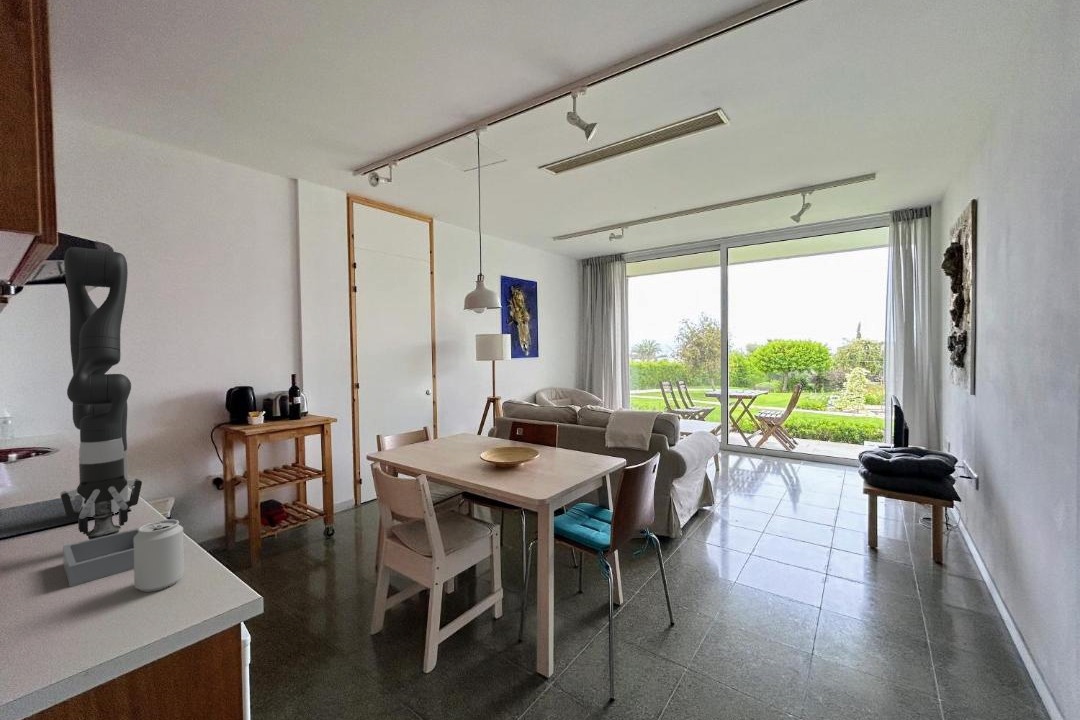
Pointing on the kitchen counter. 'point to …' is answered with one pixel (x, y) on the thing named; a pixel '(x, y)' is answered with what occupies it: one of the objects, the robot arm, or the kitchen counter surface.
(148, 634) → the kitchen counter surface
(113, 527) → the chess piece
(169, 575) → the can
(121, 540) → the bin
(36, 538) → the kitchen counter surface
